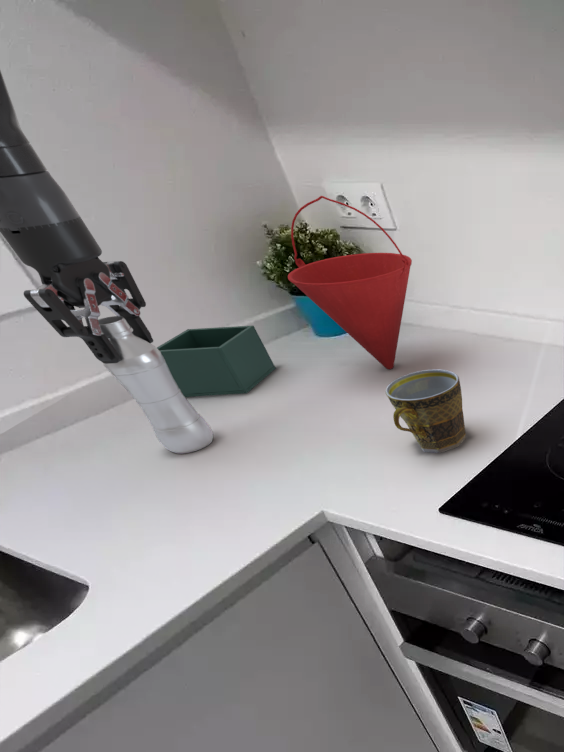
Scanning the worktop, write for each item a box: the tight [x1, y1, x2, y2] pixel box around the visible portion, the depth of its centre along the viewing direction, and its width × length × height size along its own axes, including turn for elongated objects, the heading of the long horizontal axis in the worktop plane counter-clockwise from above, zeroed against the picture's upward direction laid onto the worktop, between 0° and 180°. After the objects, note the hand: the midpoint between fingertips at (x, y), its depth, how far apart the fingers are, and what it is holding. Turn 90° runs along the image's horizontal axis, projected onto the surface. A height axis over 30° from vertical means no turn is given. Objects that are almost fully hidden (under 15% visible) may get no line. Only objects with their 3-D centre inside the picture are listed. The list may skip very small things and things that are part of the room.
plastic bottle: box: [98, 315, 214, 454], centre depth 80 cm, size 6×7×20 cm
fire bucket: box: [287, 195, 413, 370], centre depth 98 cm, size 22×20×30 cm
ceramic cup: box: [385, 368, 467, 454], centre depth 81 cm, size 13×10×10 cm
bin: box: [156, 325, 277, 398], centre depth 101 cm, size 12×11×9 cm
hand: (129, 352), depth 76 cm, fingers closed on plastic bottle, 6 cm apart
